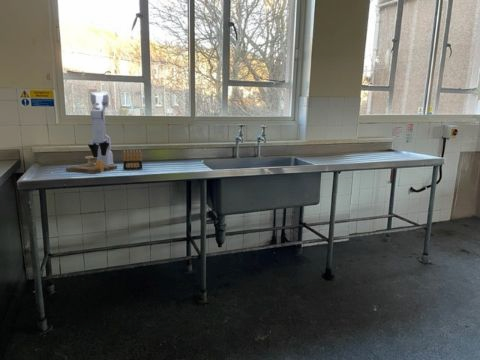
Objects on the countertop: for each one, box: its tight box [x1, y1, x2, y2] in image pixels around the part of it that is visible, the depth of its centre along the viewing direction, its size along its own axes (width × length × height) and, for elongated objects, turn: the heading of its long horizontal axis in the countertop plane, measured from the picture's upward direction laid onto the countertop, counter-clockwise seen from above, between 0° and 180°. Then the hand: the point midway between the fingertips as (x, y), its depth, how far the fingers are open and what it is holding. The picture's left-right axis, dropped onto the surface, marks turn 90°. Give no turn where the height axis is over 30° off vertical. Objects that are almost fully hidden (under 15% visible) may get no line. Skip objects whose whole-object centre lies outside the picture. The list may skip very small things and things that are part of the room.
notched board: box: [65, 162, 118, 175], centre depth 205 cm, size 18×20×2 cm
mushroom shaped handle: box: [84, 155, 97, 166], centre depth 208 cm, size 6×6×5 cm
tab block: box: [94, 160, 105, 173], centre depth 200 cm, size 3×3×6 cm
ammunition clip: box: [122, 148, 143, 171], centre depth 209 cm, size 11×2×12 cm, turn 110°
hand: (99, 156), depth 199 cm, fingers open, 7 cm apart
